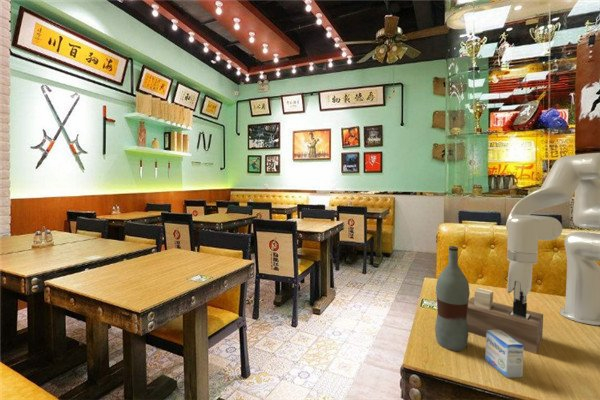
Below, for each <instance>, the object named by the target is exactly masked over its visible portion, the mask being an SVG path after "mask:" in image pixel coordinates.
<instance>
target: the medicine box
mask: <svg viewBox="0 0 600 400" xmlns="http://www.w3.org/2000/svg"><path fill="white" fill-rule="evenodd" d="M485 338H486V339H485V340H486V341H485V354H484V355H485V357H484V360H485V361H486V362H487V363H488V364H490V365H491V366H492V367H493V368H494V369H496V370H497V371H498V372H499V373H501V375H502V376H504V378H508V379H509V378H510V379H512V378H522V377H523V374H524V373H523V372H524V371H523V370H524V368H523V367H524V351H525V350H524V345H523V344H521V343H520V342H518V341H516V340H515V339H513V338H512V337H510V336H509V335H507V334H506V333H504V332H503V331H501V330H487V332H486V337H485Z"/></svg>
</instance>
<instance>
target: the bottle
mask: <svg viewBox="0 0 600 400" xmlns="http://www.w3.org/2000/svg"><path fill="white" fill-rule="evenodd" d="M447 262H448V264H447V265H446V266H445V268H444V269H443V270H442V271H441V273H440V274H439V275H438V277H437V280H436V285H435V292H436V293H435V294H436V309H437V310H436V311H437V312H436V313H437V315H436V320H435V324H434V325H435V327H434V331H435V338H436V342H437V344H438V345H440V346H441V347H442V348H444V349H447V350H450V351H453V352H454V351H455V352H462V351H464V350H466V349H467V346H468V340H469V335H470V334H469V332H468V325H467V309H468V300H470V285H469V281H468V279H467V277H466V275H465V274H464V272H463V271H462V270H461V268H460V266H459V263H458V262H459V247H458V246H452V245H451V246H448V261H447Z"/></svg>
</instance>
